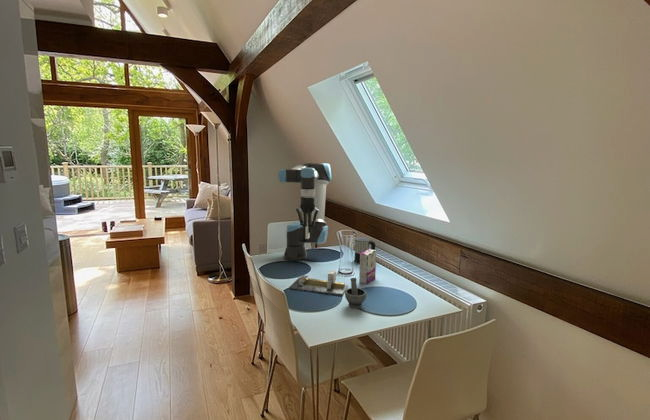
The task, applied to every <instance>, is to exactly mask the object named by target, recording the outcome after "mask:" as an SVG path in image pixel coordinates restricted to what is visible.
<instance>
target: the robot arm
mask: <svg viewBox="0 0 650 420" xmlns="http://www.w3.org/2000/svg"><path fill="white" fill-rule="evenodd" d="M277 178H278V181H279V182H280V183H292V184H293V183H298V184H300V196H301V197H300V205H299V207H297V208H296V209H295V211H296V212H297V215H298V218H299V221H296V222H291V223H288V224H287V226H286V248H285V251H284V253H283V258H284V260H287V261H291V262H297V261H298V262H299V261H300V262H301V261H304V260H307V258H308V253H307V249H306V246H305V244H317V245H319V244H325V243H326V241H327V238H328V234H329V233H328V232H329V226H328V225H327V222H326V221H325V213H326V212H325V210H326V198H327V195H326V194H327V186H328V185H329V184H330V182H331V181H332V170H331V164H330V163H324V162H323V163H321V162H319V163H318V162H304V163H300V164H296V165H294V167H291V168H280V169H279V170H278V173H277ZM302 212H303V214H302Z"/></svg>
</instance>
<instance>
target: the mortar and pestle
mask: <svg viewBox="0 0 650 420" xmlns="http://www.w3.org/2000/svg"><path fill="white" fill-rule="evenodd" d="M357 285H358V284H357V278H356V277H351V278H350V287H351V288H347V289H346V291H345V292H344V295H345V299H346V301H347V302H348V307H349V308H351V309H354V310H359V309H361V308H362V307H363V303H364V302H365V301H366V300H367V299H366V298H367V291H366V290H365V289H363V288H360V287H358V286H357ZM361 306H362V307H361ZM360 307H361V308H360ZM358 308H359V309H358Z"/></svg>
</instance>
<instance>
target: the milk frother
mask: <svg viewBox="0 0 650 420" xmlns="http://www.w3.org/2000/svg"><path fill="white" fill-rule="evenodd" d="M355 238H356V239H355ZM355 238H354V262H355V263H358V264H360V254H361V253H363V252H364V251H366V250H368V249H372V250H376V243H375V241H373V240H370V239H369V238H368V237H355ZM369 246H370V247H369Z"/></svg>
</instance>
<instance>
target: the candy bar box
mask: <svg viewBox="0 0 650 420" xmlns="http://www.w3.org/2000/svg"><path fill="white" fill-rule="evenodd" d="M376 263H377V250H376V249H375V250H372V249H371V248H369V249H368V250H366V251H364V252H363V253H361V254H360V263H359V277H358V278H359V279H358V280H359V282H358V283H361V284H364V285H368V284H369V283H370V282H372V281H373V280H375V279H376V273H377V272H376V270H377V269H376V268H377V267H376V265H377V264H376Z"/></svg>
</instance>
